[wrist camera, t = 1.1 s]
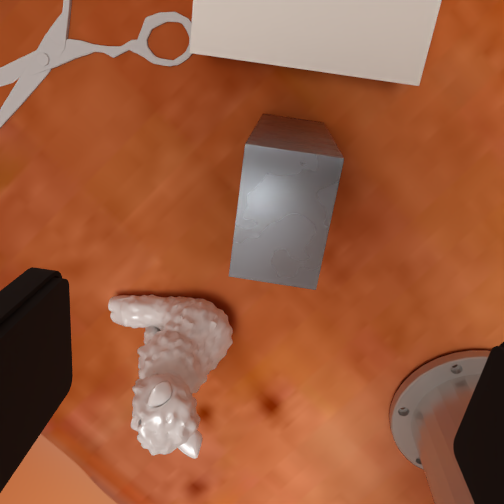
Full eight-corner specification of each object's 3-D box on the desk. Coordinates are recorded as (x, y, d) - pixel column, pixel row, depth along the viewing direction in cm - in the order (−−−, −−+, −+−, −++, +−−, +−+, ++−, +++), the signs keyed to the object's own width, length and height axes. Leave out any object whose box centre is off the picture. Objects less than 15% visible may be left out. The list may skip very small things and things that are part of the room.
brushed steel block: (324, 122, 29) (343, 158, 18) (307, 210, 31) (316, 289, 20) (263, 113, 29) (245, 143, 18) (251, 201, 31) (228, 276, 20)
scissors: (224, 30, 27) (-1, 199, 32) (226, 31, 28) (5, 196, 33) (114, -153, 24) (-114, 67, 29) (119, -146, 25) (-105, 67, 30)
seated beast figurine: (108, 294, 35) (25, 398, 24) (204, 255, 33) (161, 350, 22) (165, 384, 38) (114, 514, 27) (257, 354, 36) (241, 481, 25)
